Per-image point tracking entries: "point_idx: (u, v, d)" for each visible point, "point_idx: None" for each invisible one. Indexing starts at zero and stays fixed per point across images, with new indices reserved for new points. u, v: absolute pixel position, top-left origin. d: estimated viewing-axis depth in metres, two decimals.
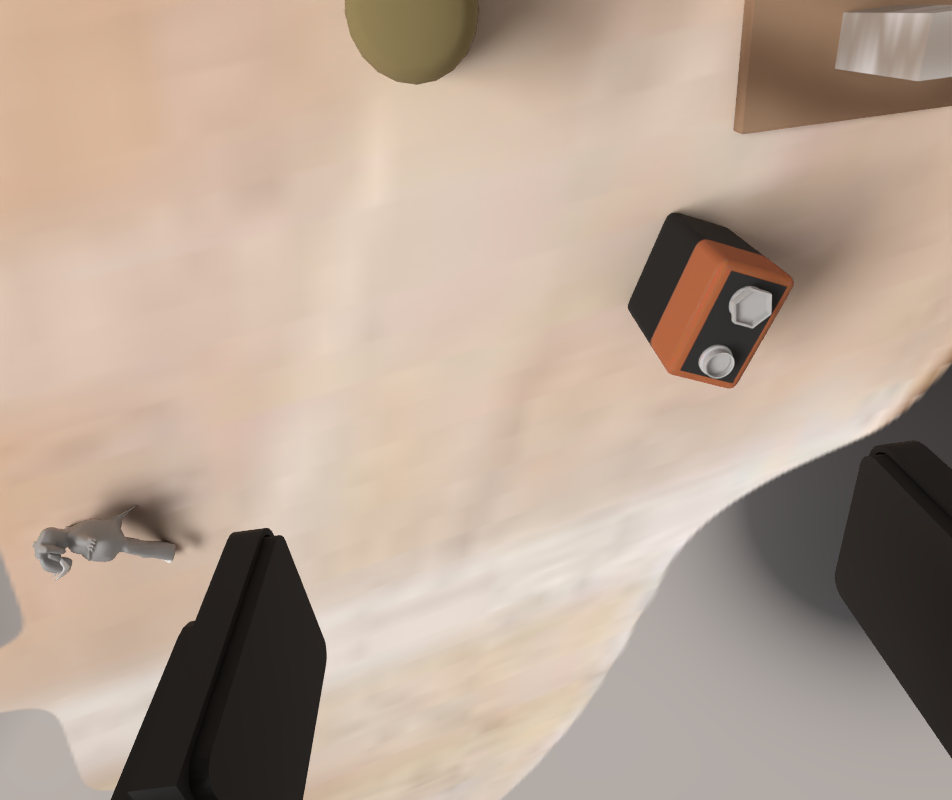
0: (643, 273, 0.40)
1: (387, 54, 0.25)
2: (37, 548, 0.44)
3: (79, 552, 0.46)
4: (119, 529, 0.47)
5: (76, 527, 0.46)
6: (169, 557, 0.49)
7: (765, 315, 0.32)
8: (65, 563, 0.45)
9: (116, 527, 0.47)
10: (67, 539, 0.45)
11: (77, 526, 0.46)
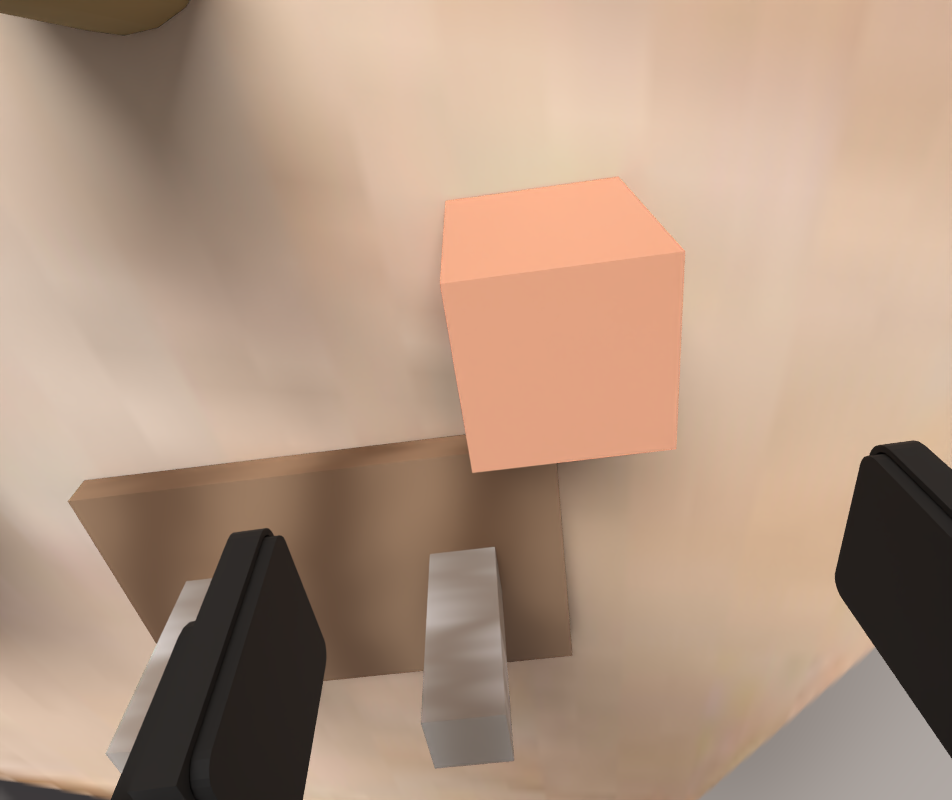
0: None
1: None
2: None
3: None
4: None
5: None
6: None
7: None
8: None
9: None
10: None
11: None
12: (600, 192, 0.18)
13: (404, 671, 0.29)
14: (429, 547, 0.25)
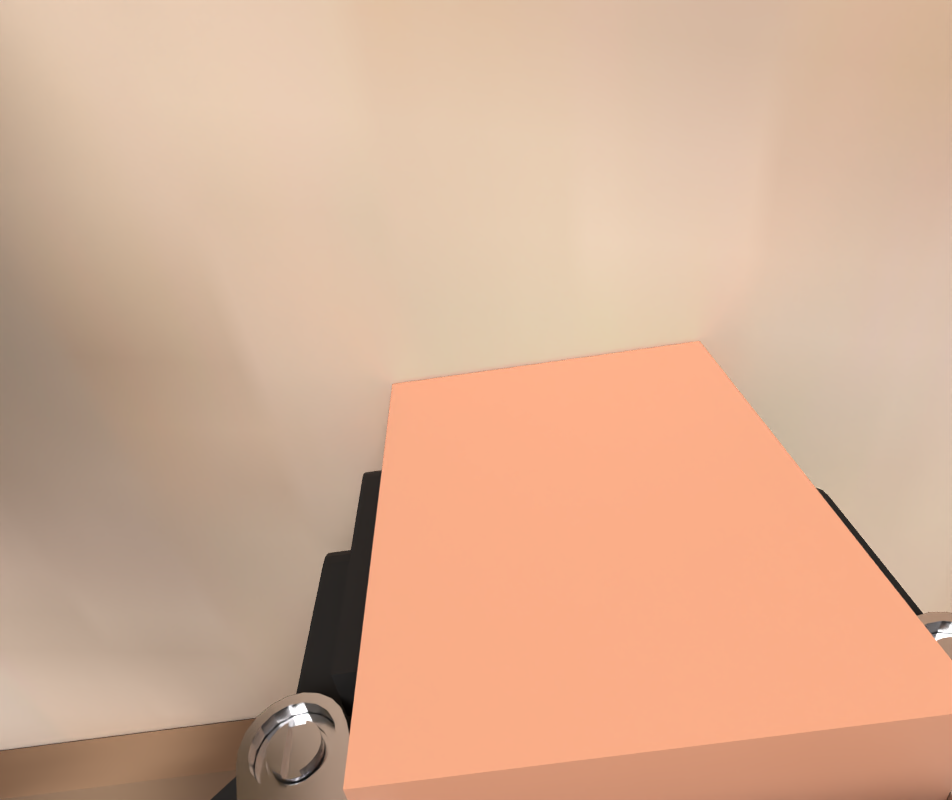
0: None
1: None
2: None
3: None
4: None
5: None
6: None
7: None
8: None
9: None
10: None
11: None
12: (678, 387, 0.10)
13: None
14: None
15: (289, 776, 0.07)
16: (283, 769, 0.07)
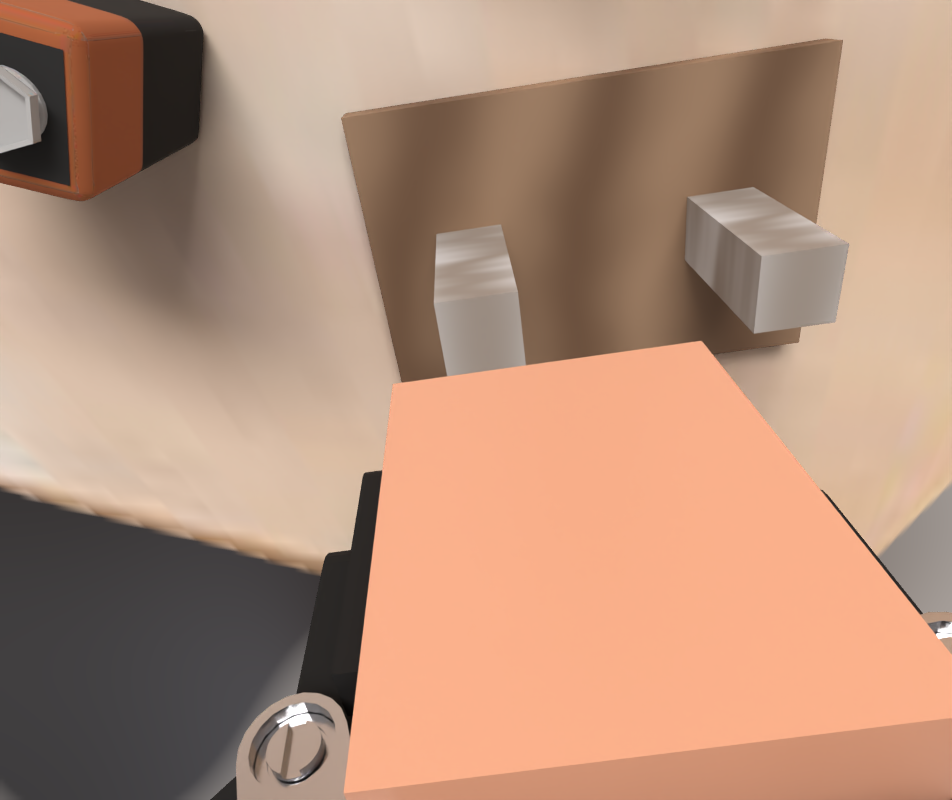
0: None
1: None
2: None
3: None
4: None
5: None
6: None
7: None
8: None
9: None
10: None
11: None
12: (680, 387, 0.10)
13: None
14: (688, 187, 0.25)
15: (288, 776, 0.07)
16: (283, 769, 0.07)
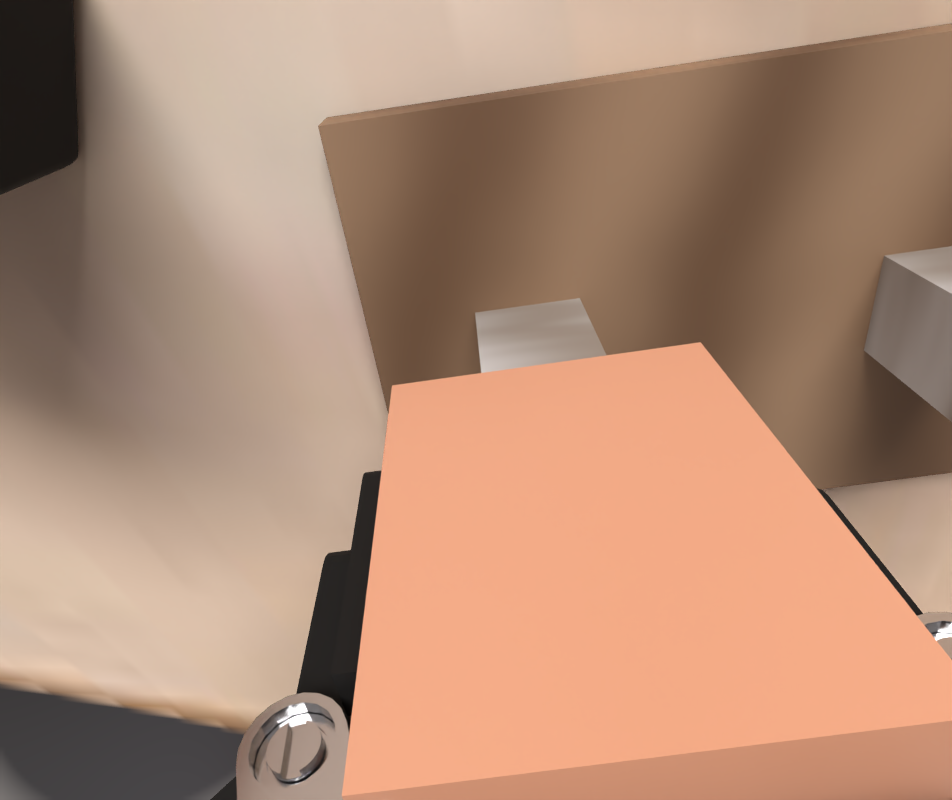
0: None
1: None
2: None
3: None
4: None
5: None
6: None
7: None
8: None
9: None
10: None
11: None
12: (678, 389, 0.10)
13: None
14: (889, 240, 0.15)
15: (289, 776, 0.07)
16: (283, 769, 0.07)
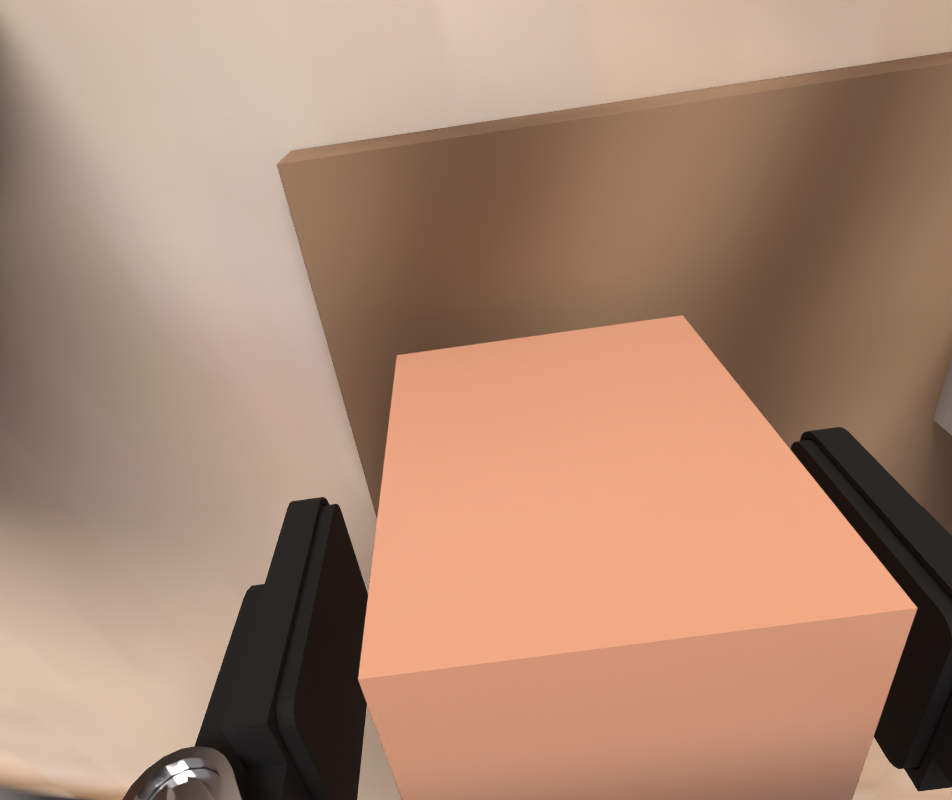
0: None
1: None
2: None
3: None
4: None
5: None
6: None
7: None
8: None
9: None
10: None
11: None
12: (660, 354, 0.10)
13: None
14: None
15: None
16: None
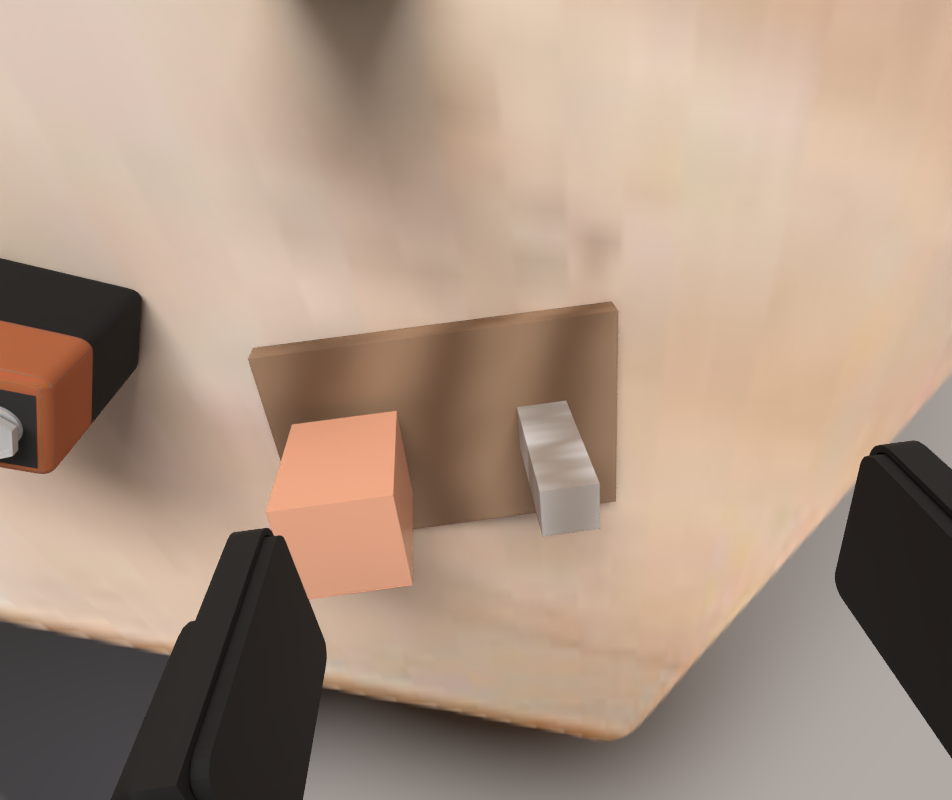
0: (42, 271, 0.28)
1: None
2: None
3: None
4: None
5: None
6: None
7: None
8: None
9: None
10: None
11: None
12: (379, 427, 0.31)
13: (484, 518, 0.37)
14: (517, 401, 0.33)
15: None
16: None
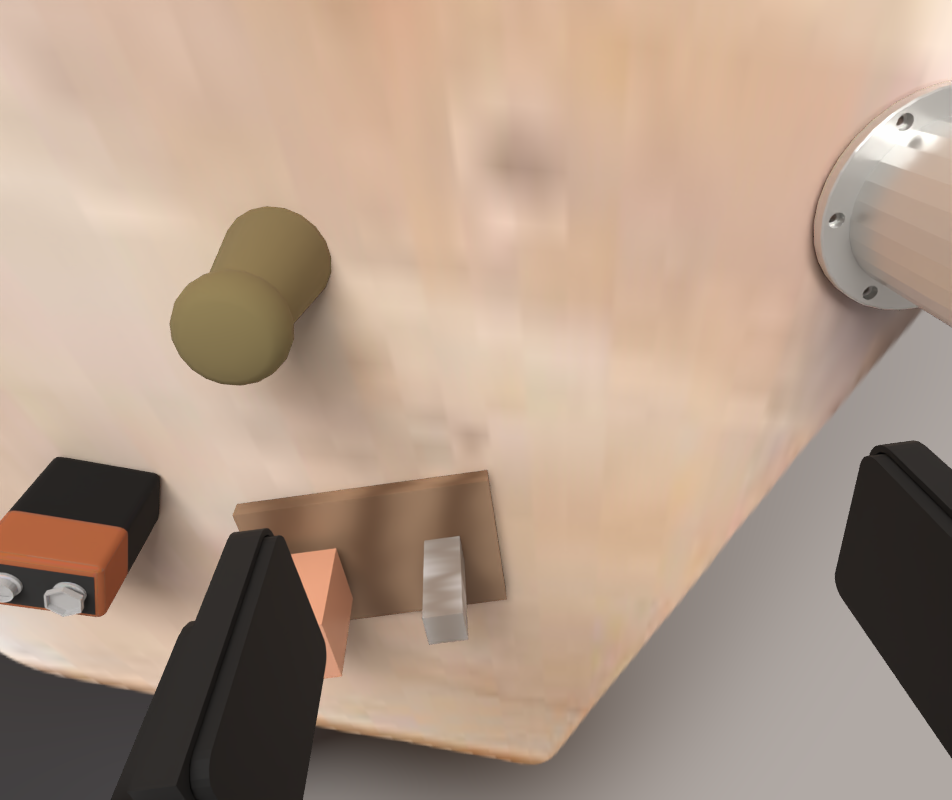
0: (94, 466, 0.43)
1: (184, 324, 0.27)
2: None
3: None
4: None
5: None
6: None
7: (61, 611, 0.37)
8: None
9: None
10: None
11: None
12: (322, 563, 0.44)
13: (409, 611, 0.51)
14: (424, 537, 0.47)
15: None
16: None
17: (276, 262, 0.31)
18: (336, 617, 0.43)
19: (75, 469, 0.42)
